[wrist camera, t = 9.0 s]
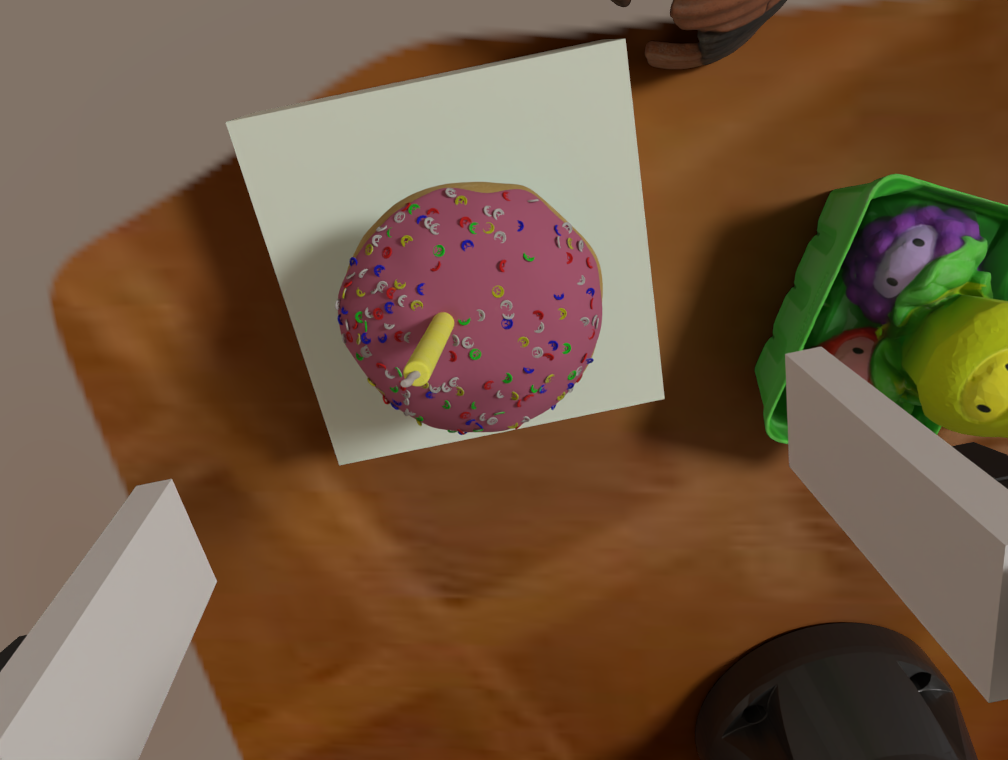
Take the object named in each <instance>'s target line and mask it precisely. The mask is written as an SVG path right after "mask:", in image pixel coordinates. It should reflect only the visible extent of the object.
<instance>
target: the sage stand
mask: <svg viewBox="0 0 1008 760" xmlns="http://www.w3.org/2000/svg"><path fill="white" fill-rule="evenodd" d="M226 126H227V128H228V132H229V135H230V138H231V141H232V144H233V147H234V150H235V153H236V156H237V159H238V162H239V165H240V168H241V171H242V174H243V177H244V180H245V183H246V186H247V189H248V192H249V195H250V198H251V201H252V204H253V207H254V210H255V213H256V216H257V219H258V222H259V225H260V228H261V231H262V234H263V237H264V240H265V243H266V246H267V249H268V252H269V255H270V258H271V261H272V264H273V267H274V270H275V273H276V276H277V279H278V282H279V285H280V288H281V291H282V294H283V297H284V300H285V303H286V306H287V309H288V312H289V315H290V318H291V321H292V324H293V327H294V330H295V333H296V336H297V339H298V342H299V345H300V348H301V351H302V354H303V357H304V360H305V363H306V366H307V369H308V372H309V375H310V378H311V381H312V384H313V387H314V390H315V393H316V396H317V399H318V402H319V405H320V408H321V411H322V414H323V417H324V420H325V424H326V427H327V430H328V433H329V436H330V439H331V442H332V445H333V448H334V451H335V454H336V457H337V460H338V463H339V465H343V464H348V463H353V462H358V461H363V460H368V459H372V458H377V457H382V456H387V455H392V454H397V453H402V452H407V451H412V450H417V449H422V448H426V447H431V446H436V445H441V444H446V443H451V442H456V441H461V440H466V439H471V438H476V437H480V436H485V435H490V434H495V433H500V432H505V431H510V430H515V428H514V429H509V430H505V431H499V432H468V433H466V434H464V435H460V434H458V431H457V432H455V433H449V432H448V431H447V430H443V429H437V428H433V427H430V426H428V425H426V424H424V423H422V422H421V423H422V426H419V425H418V423H417V421H416V419H414V418H412V417H411V416H409V415H408V416H405V415H404V413H403V412H402V411H401V410H396V409H394V408H393V407H392V406H391V404H388V405H387V404H385V403H384V401H383V398H382V397H383V396H382V394H381V393H380V392H379V391H378V390H377V389H376V387H375V386H372V385H370V384H369V383H368V381H367V378H368V377H367V376H366V374H365V373H364V372H363V370H362V369H361V367H360V366H359V365H358V363H357V362H356V360H355V359H354V357H353V356H352V354H351V353H350V351H349V350H348V348H347V347H346V345H345V344H344V343H343V341H342V335H341V331H340V326H339V323H338V320H337V317H338V310H336V309H335V302H336V300H337V299H338V294H339V290H340V287H341V285H342V282H343V280H344V278H345V276H346V273H347V269H348V266H349V263H350V262H349V261H350V258H351V257H353V255H354V253H355V251H356V249H357V247H358V245H359V243H360V241H361V239H362V238H363V236H364V235H365V234H366V232H367V231H368V230H369V229H370V228H371V227H372V226H373V225H374V224H375V223H376V221H377V220H378V219H379V218H380V217H381V216H382V215H383V214H384V213H385V212H386V211H387V210H389V209H390V208H391V207H392V206H393V205H395V204H396V203H397V202H399V201H401V200H402V199H404V198H406V197H408V196H410V195H412V194H414V193H416V192H419V191H421V190H424V189H427V188H430V187H434V186H438V185H443V184H450V183H461V182H492V183H505V184H518V185H522V186H525V187H528V188H530V189H531V190H533V191H534V192H535V193H537V194H538V195H539V196H540V197H542V198H543V199H544V200H545V201H546V202H547V203H548V204H549V205H551V206H552V207H553V208H554V209H555V210H556V211H557V212H558V213H559V214H560V215H561V216H562V217H564V218H565V219H566V220H567V221H568V222H569V223H570V224H571V225H572V226H573V227H574V228H575V229H576V230H577V231H578V232H579V233H580V234H581V235H582V236H583V237H584V238H585V239H586V241H587V242H588V243H589V244H590V246H591V247H592V249H593V250H594V252H595V254H596V256H597V258H598V261H599V264H600V267H601V273H602V281H603V297H602V324H601V330H600V334H599V337H598V340H597V343H596V347H595V350H594V353H593V356H592V359H594V361H593V362H592V363H590V364H589V365H588V366H587V368H586V370H585V371H584V373H583V375H582V378H581V380H580V381H579V382H578V383H577V382H576V383H575V385H574V388H573V391H572V392H571V393H570V392H568V393H567V394H566V395H565V397H564V398H563V399H562V400H560V401H559V402H558V403H557V404H556V407H555V408H554V410H551V408H550V409H548V410H547V411H545V412H544V413H542V414H540V415H538V416H536V417H535V418H533V419H531V420H530V421H529V422H525V423H523V424H522V425H521V426H520V427H519V428H518V429H520V428H525V427H530V426H534V425H539V424H544V423H549V422H554V421H559V420H564V419H569V418H574V417H579V416H584V415H588V414H593V413H598V412H603V411H608V410H613V409H618V408H623V407H628V406H633V405H638V404H642V403H647V402H652V401H657V400H662V399H665V397H664V388H663V379H662V370H661V360H660V351H659V342H658V333H657V324H656V314H655V305H654V296H653V287H652V278H651V268H650V259H649V250H648V241H647V232H646V223H645V213H644V204H643V195H642V186H641V177H640V167H639V158H638V149H637V140H636V131H635V121H634V112H633V103H632V94H631V85H630V75H629V66H628V57H627V48H626V39H605V40H598V41H594V42H589V43H584V44H579V45H574V46H570V47H565V48H560V49H555V50H551V51H546V52H541V53H536V54H531V55H527V56H522V57H517V58H512V59H508V60H503V61H498V62H493V63H488V64H484V65H479V66H474V67H469V68H465V69H460V70H455V71H450V72H445V73H441V74H436V75H431V76H426V77H422V78H417V79H412V80H407V81H402V82H398V83H393V84H388V85H383V86H379V87H374V88H369V89H364V90H359V91H355V92H350V93H345V94H340V95H336V96H331V97H326V98H321V99H316V100H312V101H307V102H302V103H297V104H293V105H288V106H283V107H278V108H273V109H269V110H264V111H259V112H254V113H251V114H248V115H245V116H242V117H239V118H236V119H233V120H230V121H228V122H226ZM337 305H338V304H337ZM370 382H371V381H370ZM371 383H372V382H371ZM385 401H386V399H385ZM386 402H387V401H386ZM450 431H451V430H450ZM463 433H464V432H463Z"/></svg>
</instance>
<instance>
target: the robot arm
mask: <svg viewBox="0 0 1008 760" xmlns="http://www.w3.org/2000/svg"><path fill="white" fill-rule="evenodd" d="M785 367H786V393H787V420H788V447H789V466H790V468H791V469H792V470H793V471H794V472H795V474H796V475H797V476H798V477H799V478H800V479H801V481H802V482H803V483H804V484H805V485H806V487H807V488H808V489H809V490H810V491H811V493H812V494H813V495H814V496H815V497H816V498H817V500H818V501H819V502H820V503H821V504H822V506H823V507H824V508H825V509H826V510H827V512H828V513H829V514H830V515H831V516H832V517H833V519H834V520H835V521H836V522H837V523H838V525H839V526H840V527H841V528H842V529H843V530H844V532H845V533H846V534H847V535H848V536H849V538H850V539H851V540H852V541H853V542H854V544H855V545H856V546H857V547H858V548H859V549H860V551H861V552H862V553H863V554H864V555H865V557H866V558H867V559H868V560H869V561H870V563H871V564H872V565H873V566H874V567H875V568H876V570H877V571H878V572H879V573H880V574H881V576H882V577H883V578H884V579H885V580H886V582H887V583H888V584H889V585H890V586H891V587H892V589H893V590H894V591H895V592H896V593H897V595H898V596H899V597H900V598H901V599H902V600H903V602H904V603H905V604H906V605H907V606H908V608H909V609H910V610H911V611H912V612H913V614H914V615H915V616H916V617H917V618H918V619H919V621H920V622H921V623H922V624H923V625H924V627H925V628H926V629H927V630H928V631H929V633H930V634H931V635H932V636H933V637H934V638H935V640H936V641H937V642H938V643H939V644H940V646H941V647H942V648H943V649H944V650H945V651H946V653H947V654H948V655H949V656H950V657H951V659H952V660H953V661H954V662H955V663H956V665H957V666H958V667H959V668H960V669H961V670H962V672H963V673H964V674H965V675H966V676H967V678H968V679H969V680H970V681H971V682H972V684H973V685H974V686H975V687H976V688H977V689H978V691H979V692H980V693H981V694H982V695H983V697H984V698H985V699H986V700H987V701H988V703H990V702H995V701H1000V700H1005V699H1008V455H1006V454H1004V453H1001V452H998V451H996V450H993V449H990V448H988V447H985V446H982V445H980V444H977V443H974V442H971V443H966V444H961V445H956V446H951V445H949V444H948V443H947V442H945V441H944V440H943V439H941V438H940V437H939V436H937V435H936V434H935V433H934V432H932V431H931V430H930V429H928V428H927V427H926V426H924V425H923V424H922V423H920V422H919V421H918V420H917V419H915V418H914V417H913V416H911V415H910V414H909V413H907V412H906V411H905V410H903V409H902V408H901V407H900V406H898V405H897V404H896V403H894V402H893V401H892V400H890V399H889V398H888V397H886V396H885V395H884V394H883V393H881V392H880V391H879V390H877V389H876V388H875V387H873V386H872V385H871V384H869V383H868V382H867V381H866V380H864V379H863V378H862V377H860V376H859V375H858V374H856V373H855V372H854V371H853V370H851V369H850V368H849V367H847V366H846V365H845V364H843V363H842V362H841V361H839V360H838V359H837V358H836V357H834V356H833V355H832V354H830V353H829V352H828V351H826V350H825V349H824V348H822V347H816V348H812V349H807V350H802V351H797V352H792V353H787V354H785ZM216 583H217V581H216V578H215V576H214V574H213V572H212V569H211V567H210V565H209V562H208V560H207V558H206V556H205V553H204V551H203V549H202V546H201V544H200V542H199V540H198V537H197V535H196V533H195V531H194V528H193V526H192V524H191V521H190V519H189V517H188V515H187V512H186V510H185V508H184V505H183V503H182V501H181V499H180V496H179V494H178V492H177V489H176V487H175V485H174V483H173V480H172V479H168V480H163V481H158V482H154V483H149V484H144V485H139V486H136V487H135V489H134V490H133V491H132V493H131V494H130V495H129V497H128V498H127V500H126V501H125V502H124V504H123V505H122V506H121V508H120V509H119V510H118V512H117V513H116V515H115V516H114V518H113V519H112V520H111V522H110V523H109V524H108V526H107V527H106V528H105V530H104V531H103V532H102V534H101V535H100V536H99V538H98V539H97V541H96V542H95V543H94V545H93V546H92V547H91V549H90V550H89V552H88V553H87V554H86V556H85V557H84V558H83V560H82V561H81V563H80V564H79V565H78V567H77V568H76V569H75V571H74V572H73V573H72V575H71V576H70V578H69V579H68V580H67V582H66V583H65V584H64V586H63V587H62V588H61V590H60V591H59V593H58V594H57V595H56V597H55V598H54V599H53V601H52V602H51V604H50V605H49V606H48V608H47V609H46V610H45V612H44V613H43V614H42V616H41V617H40V619H39V620H38V621H37V623H36V624H35V625H34V627H33V628H32V629H31V631H30V632H29V634H28V635H24V636H19V637H18V638H17V639H16V640H14V641H13V642H12V643H11V644H10V645H9V646H8V647H6V648H5V649H4V650H3V651H2V652H1V653H0V760H138V759H139V756H140V754H141V752H142V750H143V747H144V745H145V743H146V741H147V738H148V736H149V734H150V732H151V729H152V727H153V725H154V723H155V720H156V718H157V716H158V714H159V711H160V709H161V707H162V705H163V702H164V700H165V698H166V696H167V693H168V691H169V689H170V686H171V684H172V682H173V679H174V677H175V675H176V673H177V671H178V668H179V666H180V664H181V661H182V659H183V657H184V655H185V653H186V650H187V648H188V646H189V644H190V641H191V639H192V637H193V635H194V632H195V630H196V628H197V625H198V623H199V621H200V619H201V616H202V614H203V612H204V610H205V607H206V605H207V603H208V601H209V598H210V596H211V594H212V592H213V589H214V587H215V585H216ZM695 743H696V748H697V752H698V755H699V758H700V760H978V759H977V756H976V753H975V750H974V747H973V745H972V742H971V739H970V736H969V733H968V730H967V727H966V725H965V722H964V719H963V716H962V713H961V710H960V708H959V705H958V702H957V699H956V697H955V694H954V692H953V690H952V689H951V687H950V685H949V683H948V682H947V680H946V679H945V678H944V676H943V675H942V674H941V672H940V671H939V670H938V669H937V667H936V666H935V665H934V664H933V662H932V661H931V660H930V658H929V657H928V656H927V655H926V653H925V652H924V651H923V650H922V649H921V648H920V647H919V646H918V645H917V644H916V643H914V642H913V641H912V640H910V639H909V638H907V637H905V636H904V635H902V634H900V633H898V632H895V631H893V630H890V629H887V628H884V627H880V626H875V625H870V624H862V623H834V624H825V625H819V626H814V627H809V628H805V629H801V630H798V631H795V632H792V633H789V634H786V635H784V636H781V637H779V638H776V639H774V640H772V641H770V642H768V643H766V644H764V645H762V646H760V647H759V648H757V649H755V650H754V651H752V652H750V653H749V654H748V655H746V656H745V657H743V658H742V659H741V660H739V661H738V662H737V663H735V664H734V665H733V666H732V667H731V668H730V669H729V670H728V671H727V672H726V673H725V674H724V675H723V676H722V677H721V678H720V679H719V680H718V681H717V683H716V684H715V685H714V686H713V688H712V689H711V691H710V692H709V694H708V695H707V697H706V699H705V701H704V702H703V705H702V707H701V709H700V712H699V715H698V718H697V722H696V729H695Z"/></svg>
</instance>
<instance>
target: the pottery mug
mask: <svg viewBox="0 0 1008 760" xmlns="http://www.w3.org/2000/svg"><path fill="white" fill-rule="evenodd" d="M611 1H612V2H614V3H615V4H616V5H618V6H621V7H627V6H628V5H629V4H630V2H631V0H611ZM786 1H787V0H673V3H672V5H671V9H670V16H671V17H672V18H673V21H674V22H675V24H676V25H677V26H679V28H680V29H683V30H698V34H697V36H698V39H699V41H700V42H699V43H685V44H681V43H667V42H658V41H649V42H648V43H647V45H646V47H645V57H646V58H647V62H648V64H649V65H651V66H653V67H657V68H663V69H687V68H693V67H698V66H701V65H707V64H710V63H713V62H716V61H718V60H720V59H722V58H724V57H726V56H728V55H730V54H731V53H733V52H734V51H736V50H737V49H738V48H739V47H741V46H742V45H743V44H745V43H746V42H747V41H748V40H749V39H750V38H751V37H752V36H753V35H754V34H755V32H756V31H757V30H758V29H759V28H760V27H761V26H762V25H763V24H764V23H765V22H766V21H767V20H768V19H769V18H770V17H772V16H773V15H774V14H775V13H776V12H777V11H778V10H779V9H780V8H781V7H782V6H783V5H784V3H785V2H786Z"/></svg>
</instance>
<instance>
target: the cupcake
mask: <svg viewBox="0 0 1008 760" xmlns="http://www.w3.org/2000/svg"><path fill="white" fill-rule="evenodd" d="M349 262H350V263H349V266H348V269H347V273H346V276H345V278H344V280H343V282H342V285H341V287H340V290H339V294H338V299H337V300H336V302H335V309H336V310H338V317H337V320H338V323H339V326H340V331H341V335H342V341H343V343H344V344H345V345H346V347H347V348H348V350H349V351H350V353H351V354H352V356H353V357H354V359H355V360H356V362H357V363H358V365H359V366H360V367H361V369H362V370H363V372H364V373H365V374H366V376H367V377H368V378H367V381H368V383H369V384H370V385H372V386H375V387H376V389H377V390H378V391H379V392H380V393H381V394H382V396H383V397H382V398H383V401H384V403H385V404H387V405H388V404H391V406H392V407H393V408H394V409H396V410H401V411H402V412H403V413H404V415H405V416H408V415H409V416H411V417H412V418H414V419H416V421H417V423H418V425H419V426H422V423H424V424H426V425H428V426H430V427H433V428H437V429H443V430H447V431H448V432H449V433H455V432H457V431H458V434H460V435H464V434H466V433H468V432H499V431H505V430H509V429H514V428H515V429H518V428H519V427H520V426H521V425H522V424H523V423H525V422H529V421H530V420H531V419H533V418H535V417H536V416H538V415H540V414H542V413H544V412H545V411H547V410H548V409H550V408H551V410H554V408H555V407H556V404H557V403H558V402H559V401H560V400H562V399H563V398H564V397H565V395H566V394H567V393H568V392H570V393H571V392H572V391H573V388H574V385H575V383H576V382H577V383H578V382H579V381H580V380H581V378H582V375H583V373H584V371H585V370H586V368H587V366H588V365H589V364H590V363H592V362H593V361H594V359H592V356H593V353H594V350H595V347H596V343H597V340H598V337H599V334H600V330H601V324H602V297H603V281H602V273H601V267H600V264H599V261H598V258H597V256H596V254H595V252H594V250H593V249H592V247H591V246H590V244H589V243H588V242H587V241H586V239H585V238H584V237H583V236H582V235H581V234H580V233H579V232H578V231H577V230H576V229H575V228H574V227H573V226H572V225H571V224H570V223H569V222H568V221H567V220H566V219H565V218H564V217H562V216H561V215H560V214H559V213H558V212H557V211H556V210H555V209H554V208H553V207H552V206H551V205H549V204H548V203H547V202H546V201H545V200H544V199H543V198H542V197H540V196H539V195H538V194H537V193H535V192H534V191H533V190H531V189H530V188H528V187H525V186H522V185H518V184H505V183H492V182H461V183H450V184H443V185H438V186H434V187H430V188H427V189H424V190H421V191H419V192H416V193H414V194H412V195H410V196H408V197H406V198H404V199H402V200H401V201H399V202H397V203H396V204H395V205H393V206H392V207H391V208H390V209H389V210H387V211H386V212H385V213H384V214H383V215H382V216H381V217H380V218H379V219H378V220H377V221H376V223H375V224H374V225H373V226H372V227H371V228H370V229H369V230H368V231H367V232H366V234H365V235H364V236H363V238H362V239H361V241H360V243H359V245H358V247H357V249H356V251H355V253H354V255H353V257H351V258H350V261H349ZM337 304H338V305H337ZM370 381H371V382H372V383H371V382H370ZM385 399H386V401H387V402H386V401H385ZM421 422H422V423H421ZM450 430H451V431H450ZM463 432H464V433H463Z"/></svg>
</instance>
